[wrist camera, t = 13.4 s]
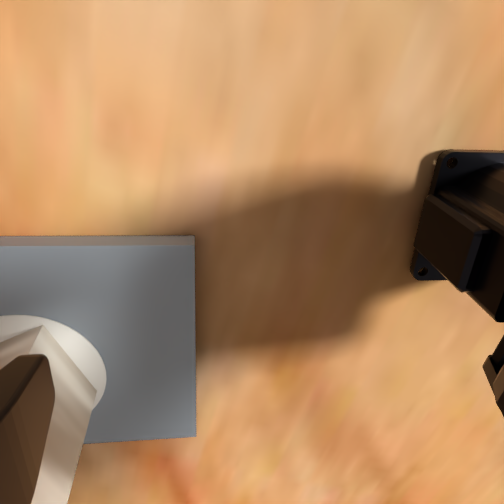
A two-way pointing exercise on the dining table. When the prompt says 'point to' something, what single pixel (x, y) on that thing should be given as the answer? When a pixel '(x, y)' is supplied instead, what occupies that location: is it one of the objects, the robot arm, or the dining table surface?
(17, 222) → the dining table surface
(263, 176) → the dining table surface
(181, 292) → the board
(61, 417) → the letter block
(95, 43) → the dining table surface
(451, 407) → the dining table surface
